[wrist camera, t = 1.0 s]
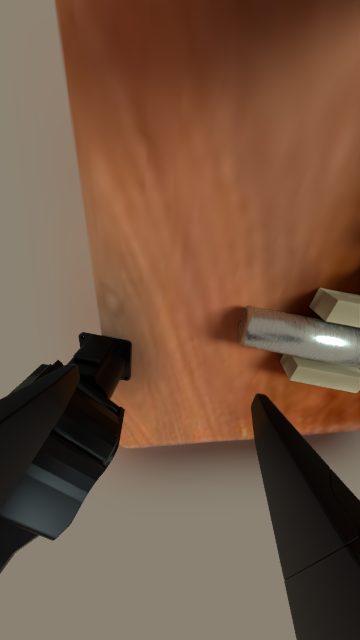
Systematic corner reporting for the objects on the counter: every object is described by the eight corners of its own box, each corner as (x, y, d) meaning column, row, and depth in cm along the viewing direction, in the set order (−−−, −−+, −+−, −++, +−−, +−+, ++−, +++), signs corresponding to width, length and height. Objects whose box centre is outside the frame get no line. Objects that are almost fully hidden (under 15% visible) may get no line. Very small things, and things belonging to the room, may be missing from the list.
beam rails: (339, 372, 23) (356, 393, 20) (279, 361, 23) (289, 380, 20) (394, 301, 18) (426, 316, 15) (319, 287, 18) (338, 300, 16)
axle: (383, 325, 20) (423, 348, 16) (360, 356, 21) (391, 382, 18) (246, 299, 20) (256, 316, 16) (235, 332, 22) (242, 354, 18)
